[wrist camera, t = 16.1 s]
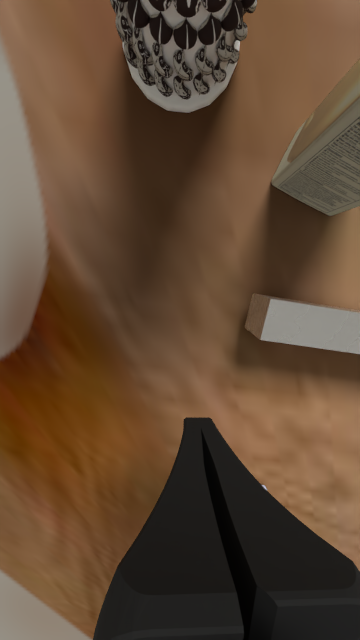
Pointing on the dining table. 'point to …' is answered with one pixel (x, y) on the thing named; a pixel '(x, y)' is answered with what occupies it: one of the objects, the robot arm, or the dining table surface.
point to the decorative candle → (182, 47)
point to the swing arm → (304, 323)
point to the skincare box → (327, 152)
